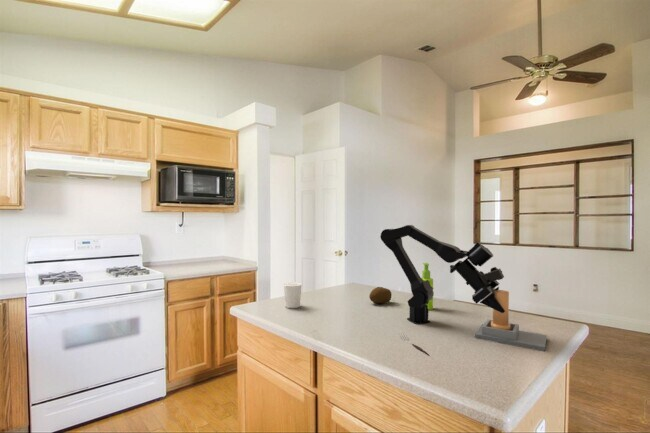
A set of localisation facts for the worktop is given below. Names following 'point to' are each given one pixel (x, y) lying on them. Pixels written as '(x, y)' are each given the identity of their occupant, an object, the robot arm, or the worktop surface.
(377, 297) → the potato
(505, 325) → the orange knob handle
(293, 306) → the white cup
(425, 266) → the soap dispenser
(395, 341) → the worktop surface
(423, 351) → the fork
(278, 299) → the worktop surface
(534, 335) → the housing
